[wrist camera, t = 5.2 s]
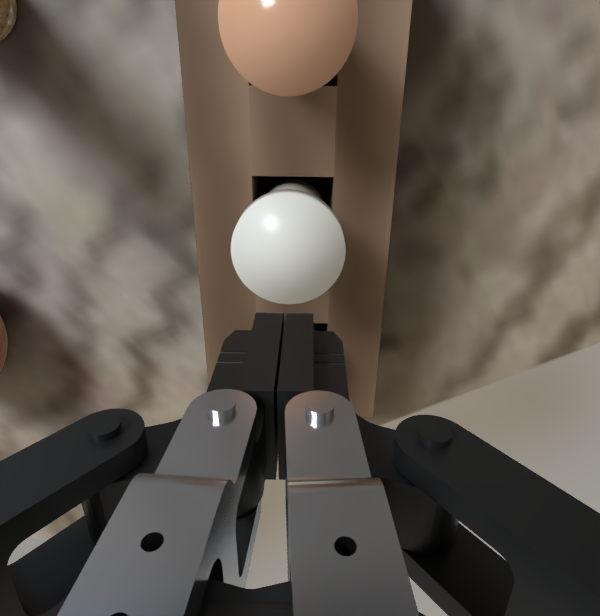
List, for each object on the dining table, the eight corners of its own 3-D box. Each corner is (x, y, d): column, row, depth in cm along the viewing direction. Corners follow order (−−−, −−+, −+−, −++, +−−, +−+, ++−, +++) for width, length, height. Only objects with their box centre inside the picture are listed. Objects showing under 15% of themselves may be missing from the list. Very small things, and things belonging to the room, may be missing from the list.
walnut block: (396, -57, 24) (421, -97, 19) (363, 365, 35) (372, 417, 29) (198, -58, 24) (166, -99, 19) (226, 362, 35) (211, 414, 29)
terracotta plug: (346, -22, 21) (362, -67, 15) (341, 93, 23) (354, 97, 17) (242, -23, 21) (213, -69, 15) (246, 91, 23) (222, 95, 17)
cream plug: (338, 165, 24) (348, 195, 18) (334, 251, 26) (342, 305, 20) (248, 164, 24) (227, 193, 18) (251, 250, 26) (233, 303, 20)
